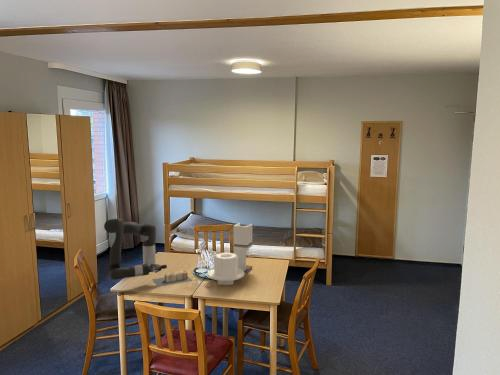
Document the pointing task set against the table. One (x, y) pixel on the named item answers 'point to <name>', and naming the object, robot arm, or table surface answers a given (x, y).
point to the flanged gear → (226, 269)
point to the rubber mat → (162, 282)
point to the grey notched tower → (242, 245)
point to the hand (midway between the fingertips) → (166, 266)
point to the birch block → (176, 276)
